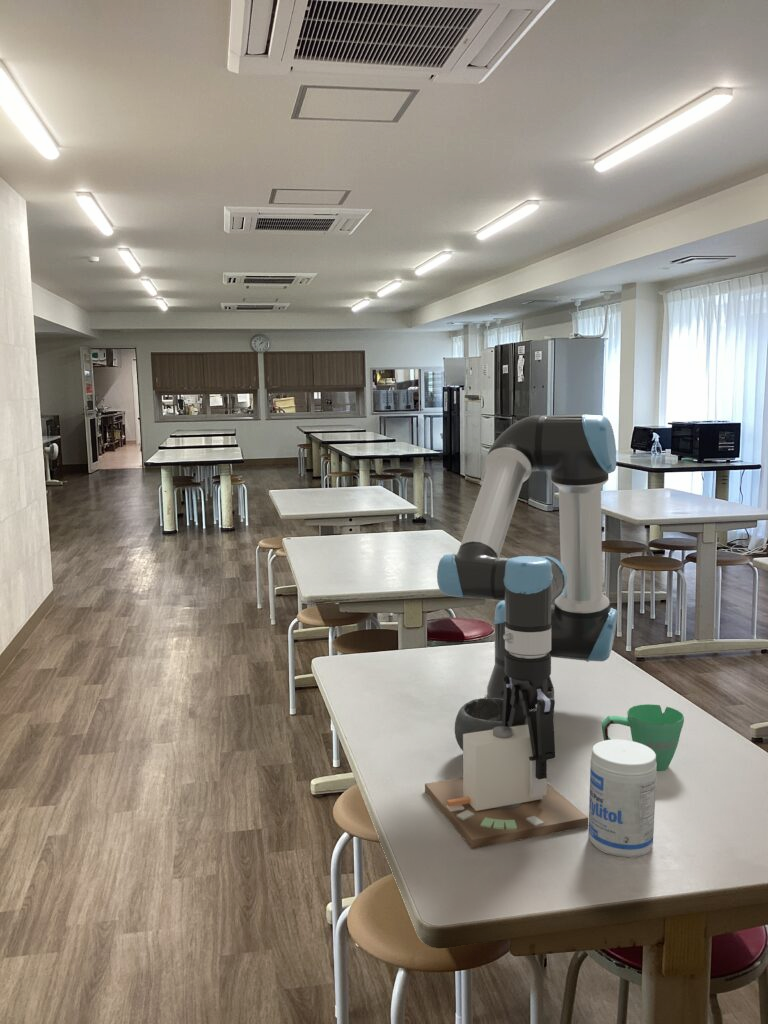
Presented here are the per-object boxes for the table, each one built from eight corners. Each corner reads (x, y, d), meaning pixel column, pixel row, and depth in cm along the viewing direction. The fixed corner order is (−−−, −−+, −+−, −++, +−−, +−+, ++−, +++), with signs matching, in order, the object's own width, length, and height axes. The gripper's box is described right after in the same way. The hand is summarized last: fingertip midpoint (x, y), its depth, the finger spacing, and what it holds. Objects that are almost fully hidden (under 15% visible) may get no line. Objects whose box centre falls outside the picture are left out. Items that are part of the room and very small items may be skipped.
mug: (672, 754, 157) (674, 703, 156) (690, 777, 148) (691, 723, 146) (594, 755, 158) (595, 704, 157) (607, 777, 148) (608, 724, 147)
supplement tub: (577, 845, 126) (578, 752, 124) (605, 821, 133) (606, 733, 131) (638, 867, 119) (641, 770, 118) (664, 840, 127) (666, 748, 125)
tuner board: (528, 774, 150) (528, 765, 150) (588, 826, 131) (588, 816, 131) (425, 791, 144) (424, 782, 144) (472, 849, 125) (472, 838, 125)
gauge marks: (514, 795, 139) (514, 793, 139) (544, 824, 129) (544, 822, 129) (446, 807, 135) (446, 805, 135) (473, 838, 125) (473, 836, 125)
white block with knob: (528, 785, 142) (528, 719, 140) (542, 798, 137) (542, 730, 135) (442, 800, 137) (441, 732, 135) (453, 814, 132) (453, 744, 131)
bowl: (440, 751, 161) (440, 702, 159) (507, 738, 166) (507, 690, 165) (479, 783, 147) (479, 729, 146) (549, 767, 153) (550, 715, 152)
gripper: (481, 638, 144) (481, 764, 147) (536, 672, 125) (535, 816, 128) (520, 634, 146) (520, 758, 149) (580, 666, 127) (578, 808, 130)
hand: (527, 785), depth 139 cm, fingers open, 7 cm apart
